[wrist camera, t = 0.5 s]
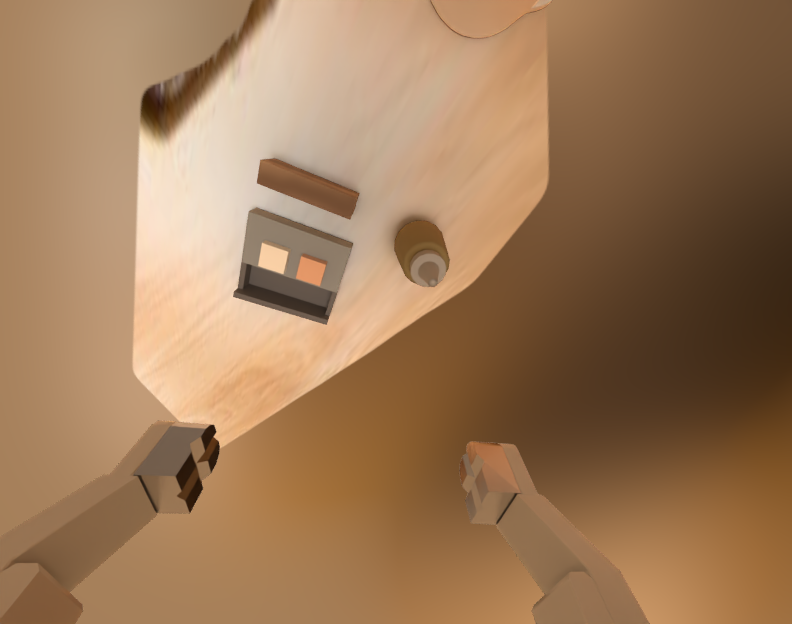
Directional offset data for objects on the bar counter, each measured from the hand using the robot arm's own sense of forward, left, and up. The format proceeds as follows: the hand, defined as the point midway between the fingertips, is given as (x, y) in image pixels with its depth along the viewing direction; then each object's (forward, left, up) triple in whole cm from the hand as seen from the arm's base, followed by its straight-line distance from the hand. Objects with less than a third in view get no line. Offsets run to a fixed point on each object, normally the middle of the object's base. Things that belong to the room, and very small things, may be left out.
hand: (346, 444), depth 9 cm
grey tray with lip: (+14, -10, -42) cm, 46 cm away
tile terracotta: (+12, -7, -39) cm, 42 cm away
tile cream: (+12, -13, -39) cm, 43 cm away
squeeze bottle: (+2, +8, -43) cm, 43 cm away
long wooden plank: (0, -10, -42) cm, 44 cm away
